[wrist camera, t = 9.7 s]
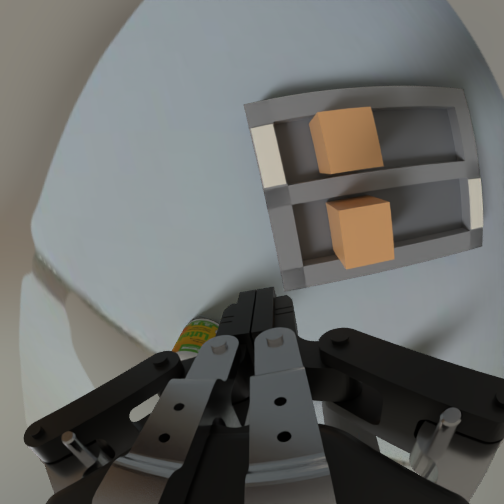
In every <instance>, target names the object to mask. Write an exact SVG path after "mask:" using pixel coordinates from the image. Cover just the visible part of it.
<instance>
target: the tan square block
mask: <svg viewBox="0 0 504 504" xmlns="http://www.w3.org/2000/svg"><path fill="white" fill-rule="evenodd" d="M309 127H310V131H311V136H312V140H313V144H314V149H315V153H316V158H317V163H318V168H319V172H320V173H325V174H335V173H341V172H347V171H354V170H360V169H367V168H374V167H382V166H384V165H383V160H382V154H381V149H380V144H379V139H378V135H377V130H376V126H375V122H374V118H373V113H372V110H371V107H359V108H348V109H339V110H331V111H323V112H317V113H316V115H315V116H314V117H313V119H312V120H311V121H310V123H309Z"/></svg>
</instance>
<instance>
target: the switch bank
mask: <svg viewBox="0 0 504 504" xmlns="http://www.w3.org/2000/svg"><path fill="white" fill-rule="evenodd" d="M359 107H371V110H372V113H373V118H374V122H375V126H376V130H377V135H378V139H379V144H380V149H381V154H382V160H383V165H384V166H382V167H374V168H367V169H360V170H354V171H347V172H341V173H335V174H325V173H320V172H319V168H318V163H317V158H316V153H315V149H314V144H313V140H312V136H311V131H310V127H309V123H310V121H311V120H312V119H313V117H314V116H315V115H316V113H317V112H323V111H331V110H339V109H348V108H359ZM244 108H245V113H246V117H247V121H248V125H249V129H250V133H251V138H252V142H253V146H254V151H255V155H256V159H257V164H258V168H259V172H260V177H261V181H262V186H263V190H264V195H265V199H266V204H267V209H268V213H269V218H270V223H271V227H272V232H273V237H274V242H275V246H276V251H277V256H278V261H279V266H280V271H281V276H282V281H283V286H284V291H290V290H295V289H301V288H306V287H311V286H316V285H322V284H327V283H332V282H337V281H341V280H346V279H351V278H356V277H360V276H365V275H370V274H374V273H379V272H383V271H387V270H392V269H396V268H400V267H405V266H409V265H413V264H417V263H421V262H425V261H429V260H433V259H437V258H441V257H445V256H449V255H452V254H456V253H460V252H464V251H467V250H471V249H474V248H478V247H481V246H482V236H483V203H482V187H481V178H480V171H479V163H478V156H477V149H476V143H475V137H474V132H473V127H472V122H471V118H470V113H469V109H468V105H467V101H466V97H465V94H464V90H463V89H459V88H447V87H432V86H371V87H355V88H343V89H332V90H324V91H316V92H308V93H301V94H295V95H289V96H283V97H277V98H272V99H267V100H262V101H257V102H253V103H248V104H244ZM365 195H370V196H373V197H376V198H379V199H382V200H385V201H388V202H390V210H391V220H392V230H393V243H394V259H393V260H389V261H384V262H379V263H375V264H370V265H366V266H361V267H356V268H351V269H345V267H344V266H343V264H342V263H341V261H340V260H339V258H338V257H337V255H336V254H335V252H334V251H333V245H332V238H331V232H330V225H329V219H328V213H327V207H326V202H330V201H336V200H342V199H347V198H353V197H359V196H365Z"/></svg>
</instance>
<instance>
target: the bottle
mask: <svg viewBox="0 0 504 504" xmlns="http://www.w3.org/2000/svg"><path fill="white" fill-rule="evenodd" d="M322 407H323V415H324V422H325V425H329V426H333V427H336V428H339V429H341V430H344V431H346V432H348V433H350V434H351V435H353V436H355V437H356V438H358V439H359V440H361V441H362V442H364V443H365V444H367V445H369V446H370V447H372V448H373V449H375V450H377V451H378V452H380V449H379V445H378V442H377V438H376V436H375V435H374V434H372V433H370V432H368V431H366V430H365V429H363V428H361V427H359V426H358V425H356V424H354V423H352V422H351V421H349V420H347V419H346V418H344V417H342V416H341V415H339V414H337V413H336V412H334V411H332V410H331V409H329V408H328V407H327V406H326V404H325V401H323V402H322Z"/></svg>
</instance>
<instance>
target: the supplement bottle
mask: <svg viewBox="0 0 504 504" xmlns="http://www.w3.org/2000/svg"><path fill="white" fill-rule="evenodd" d="M218 327H219V324H218V323H216V322H214V321H212V320H209V319H195V320H193V321H191V322H189V323H188V324H187V325H186V326H185V328H184V330H183V331H182V333H181V335H180V337H179V339H178V341H177V342H176V344H175V346H174V348H173V350H172V351H173V352H176V353H177V354H178V355H179V357H180V360H181V361H182V360H186V359H189V358H193V357H196V356H197V354H198V352H199V350H200V348H201V346H202V345H203V344H204V343H205V342H206V341H208V340H209V339H211V338H214V337H215V336H216V333H217V330H218Z"/></svg>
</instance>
